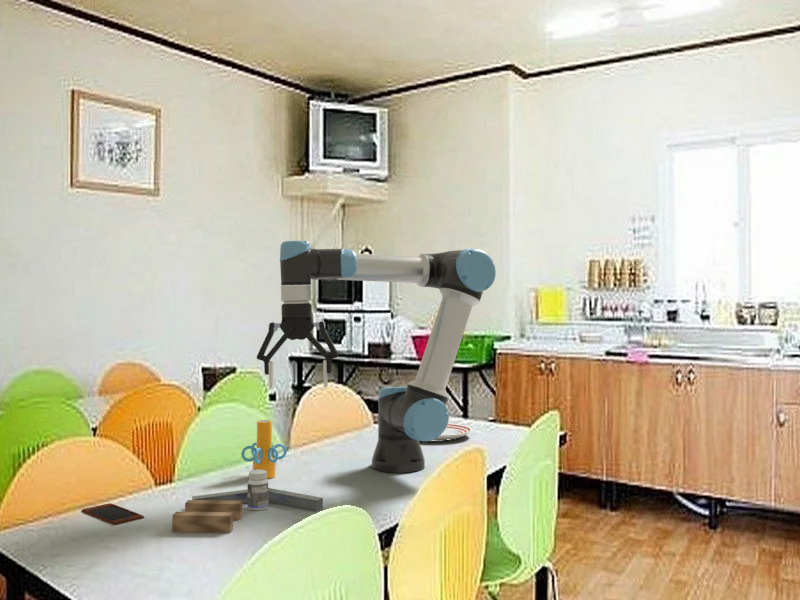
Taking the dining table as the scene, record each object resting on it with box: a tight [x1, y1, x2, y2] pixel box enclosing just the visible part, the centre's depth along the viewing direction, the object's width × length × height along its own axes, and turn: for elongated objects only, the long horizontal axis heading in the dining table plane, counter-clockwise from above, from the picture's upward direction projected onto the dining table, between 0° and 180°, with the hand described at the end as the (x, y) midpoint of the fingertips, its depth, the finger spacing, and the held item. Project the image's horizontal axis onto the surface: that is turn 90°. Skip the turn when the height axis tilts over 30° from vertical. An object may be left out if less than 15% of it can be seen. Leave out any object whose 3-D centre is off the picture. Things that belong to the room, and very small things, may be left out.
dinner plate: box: [434, 422, 473, 440], centre depth 257 cm, size 27×27×3 cm
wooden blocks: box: [171, 499, 243, 534], centre depth 158 cm, size 12×11×4 cm
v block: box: [191, 487, 324, 512], centre depth 173 cm, size 30×10×2 cm, turn 89°
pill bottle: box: [247, 469, 269, 511], centre depth 170 cm, size 5×5×8 cm
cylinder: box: [241, 419, 288, 480], centre depth 199 cm, size 12×10×15 cm
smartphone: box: [81, 502, 145, 526], centre depth 164 cm, size 7×1×15 cm
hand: (298, 387), depth 185 cm, fingers open, 13 cm apart
